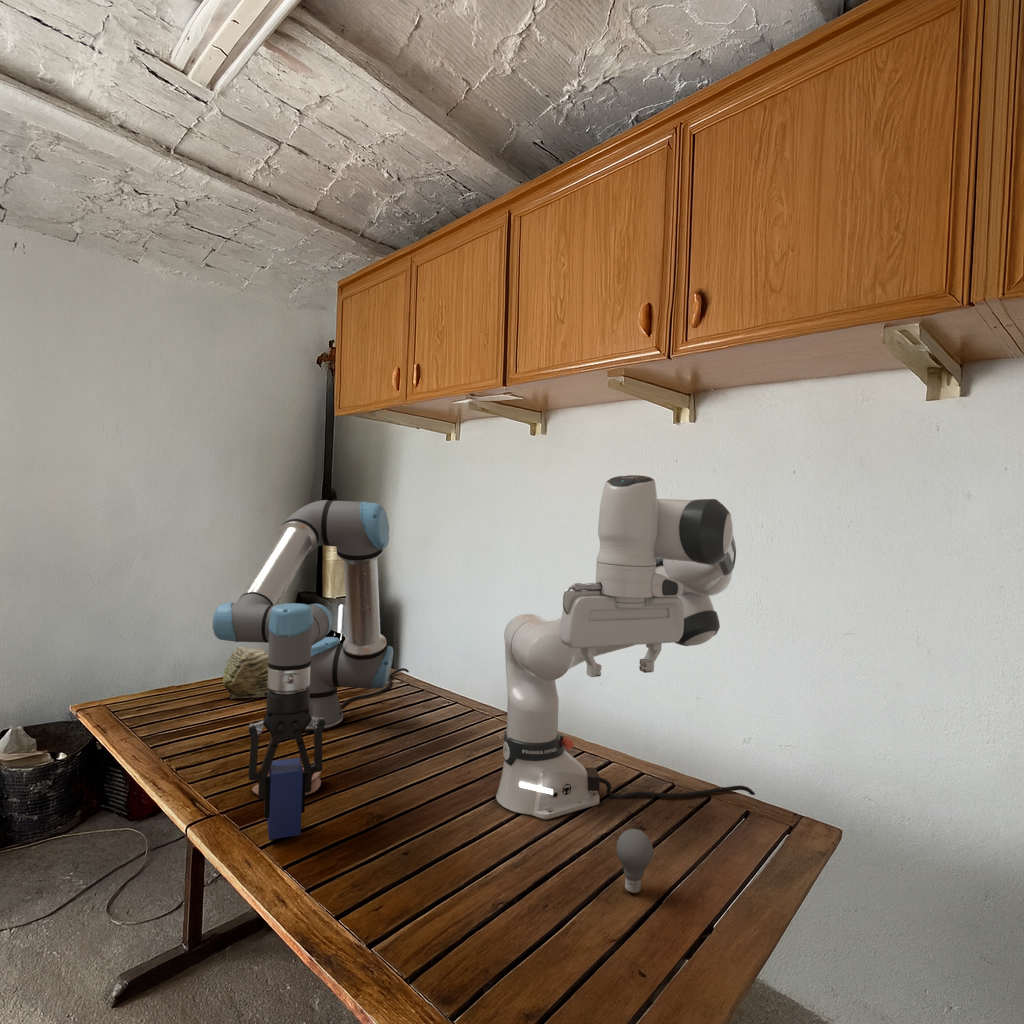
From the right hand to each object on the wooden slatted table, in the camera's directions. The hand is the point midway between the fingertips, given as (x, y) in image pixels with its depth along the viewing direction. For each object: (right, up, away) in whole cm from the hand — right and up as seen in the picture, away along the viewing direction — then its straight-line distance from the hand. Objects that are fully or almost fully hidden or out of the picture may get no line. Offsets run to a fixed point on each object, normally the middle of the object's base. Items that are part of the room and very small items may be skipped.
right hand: (620, 673), depth 96 cm
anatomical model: (-65, -35, +41) cm, 85 cm away
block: (-59, -35, +22) cm, 72 cm away
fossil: (-97, -33, +102) cm, 145 cm away
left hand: (-59, -31, +22) cm, 70 cm away
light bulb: (+4, -39, +10) cm, 40 cm away
